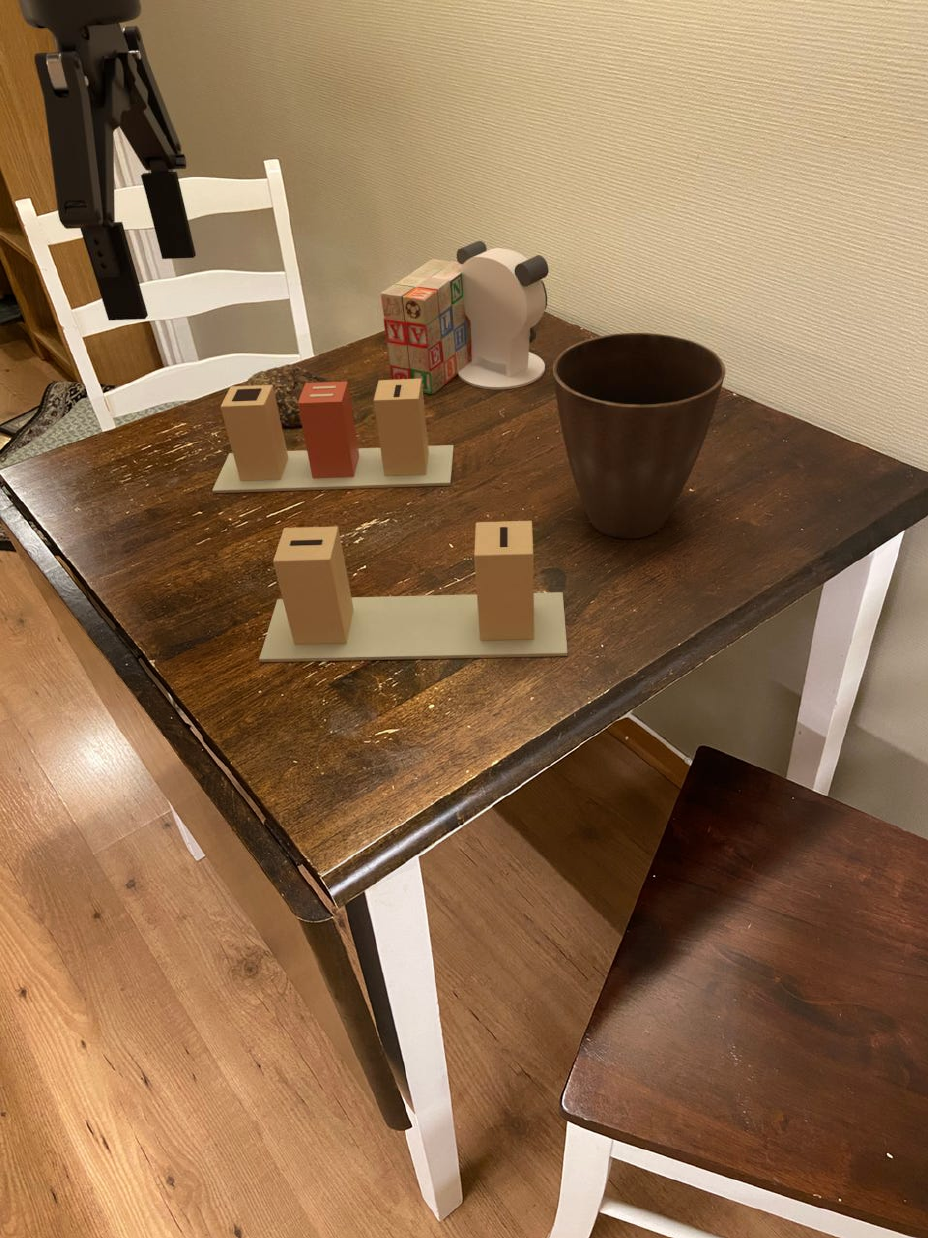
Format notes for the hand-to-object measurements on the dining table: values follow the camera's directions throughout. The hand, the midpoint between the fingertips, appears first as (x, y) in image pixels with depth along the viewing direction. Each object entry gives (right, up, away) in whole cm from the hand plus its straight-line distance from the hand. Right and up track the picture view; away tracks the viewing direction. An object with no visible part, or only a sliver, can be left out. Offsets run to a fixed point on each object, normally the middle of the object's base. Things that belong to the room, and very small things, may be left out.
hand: (155, 285), depth 70 cm
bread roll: (+3, 0, +41) cm, 41 cm away
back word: (+10, -10, +28) cm, 32 cm away
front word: (+20, -27, +7) cm, 35 cm away
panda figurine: (+30, +6, +45) cm, 54 cm away
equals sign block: (+10, -9, +28) cm, 31 cm away
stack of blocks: (+23, +9, +49) cm, 55 cm away
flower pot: (+41, -16, +18) cm, 47 cm away
